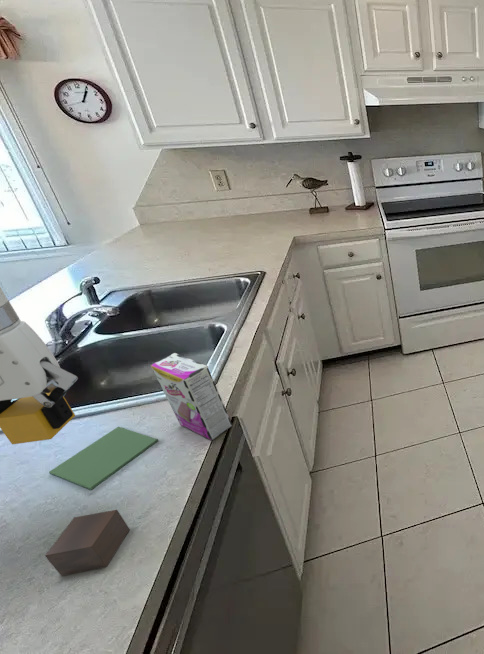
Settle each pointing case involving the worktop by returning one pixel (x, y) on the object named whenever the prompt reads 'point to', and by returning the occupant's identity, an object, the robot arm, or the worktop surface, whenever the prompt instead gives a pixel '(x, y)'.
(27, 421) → the mustard block
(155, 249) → the worktop surface
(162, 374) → the candy bar box
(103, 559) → the walnut block
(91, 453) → the green mat
